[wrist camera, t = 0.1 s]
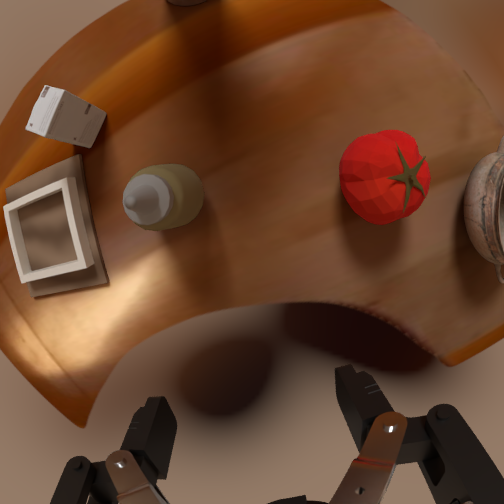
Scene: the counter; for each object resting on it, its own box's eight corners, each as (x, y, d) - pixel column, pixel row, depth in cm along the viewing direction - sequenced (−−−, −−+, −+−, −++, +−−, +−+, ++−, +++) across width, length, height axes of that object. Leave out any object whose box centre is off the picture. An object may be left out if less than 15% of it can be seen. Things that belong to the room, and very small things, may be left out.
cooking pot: (442, 130, 37) (490, 121, 25) (503, 145, 38) (545, 143, 26) (441, 275, 43) (485, 298, 31) (500, 265, 43) (540, 282, 31)
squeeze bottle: (217, 207, 39) (199, 224, 21) (166, 233, 39) (114, 269, 22) (191, 155, 37) (153, 131, 20) (141, 183, 38) (73, 183, 20)
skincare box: (92, 149, 36) (45, 140, 24) (71, 141, 36) (23, 131, 24) (108, 111, 35) (66, 90, 23) (87, 104, 34) (43, 84, 23)
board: (8, 188, 36) (5, 189, 35) (81, 154, 36) (78, 153, 35) (33, 295, 41) (31, 297, 40) (109, 281, 41) (107, 282, 40)
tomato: (405, 156, 38) (460, 149, 25) (380, 229, 40) (431, 248, 28) (340, 121, 37) (381, 97, 24) (312, 200, 39) (346, 207, 26)
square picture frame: (12, 204, 36) (3, 206, 34) (75, 177, 36) (66, 177, 34) (29, 278, 39) (21, 283, 37) (94, 263, 39) (86, 268, 37)
